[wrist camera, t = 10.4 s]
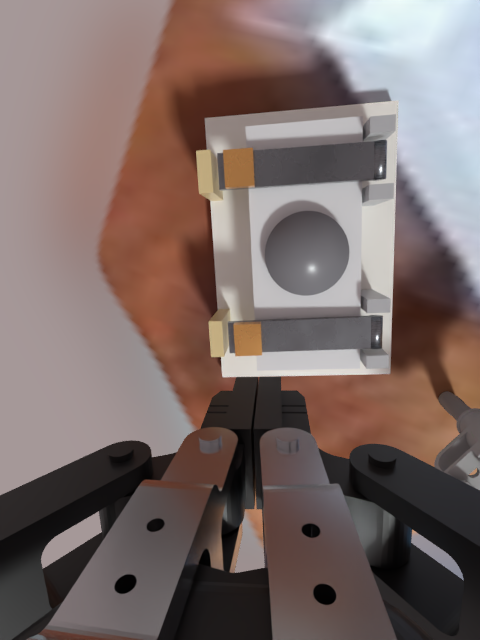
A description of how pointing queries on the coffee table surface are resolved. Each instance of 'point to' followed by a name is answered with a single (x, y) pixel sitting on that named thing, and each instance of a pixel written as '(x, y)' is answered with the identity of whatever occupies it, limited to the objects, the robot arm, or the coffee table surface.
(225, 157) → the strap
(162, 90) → the coffee table surface
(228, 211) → the base
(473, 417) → the mechanical component
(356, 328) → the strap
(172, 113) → the coffee table surface
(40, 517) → the robot arm
